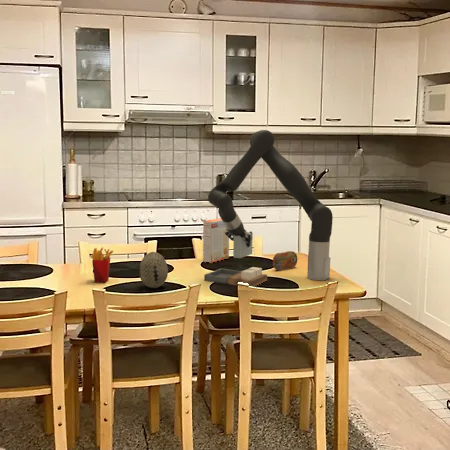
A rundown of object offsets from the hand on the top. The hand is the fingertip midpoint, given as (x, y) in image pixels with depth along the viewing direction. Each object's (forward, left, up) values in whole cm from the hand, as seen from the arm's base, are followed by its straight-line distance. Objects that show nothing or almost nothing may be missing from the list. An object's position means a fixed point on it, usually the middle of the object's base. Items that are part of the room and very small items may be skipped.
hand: (245, 245), depth 286 cm
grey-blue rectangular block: (0, +2, -5) cm, 5 cm away
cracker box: (+22, -11, -13) cm, 28 cm away
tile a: (-14, +16, -9) cm, 23 cm away
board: (-12, +19, -12) cm, 26 cm away
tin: (-14, -15, -13) cm, 24 cm away
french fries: (+39, +54, -12) cm, 68 cm away
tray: (0, +19, -12) cm, 23 cm away
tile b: (-14, +22, -9) cm, 28 cm away
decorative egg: (+16, +49, -12) cm, 53 cm away
